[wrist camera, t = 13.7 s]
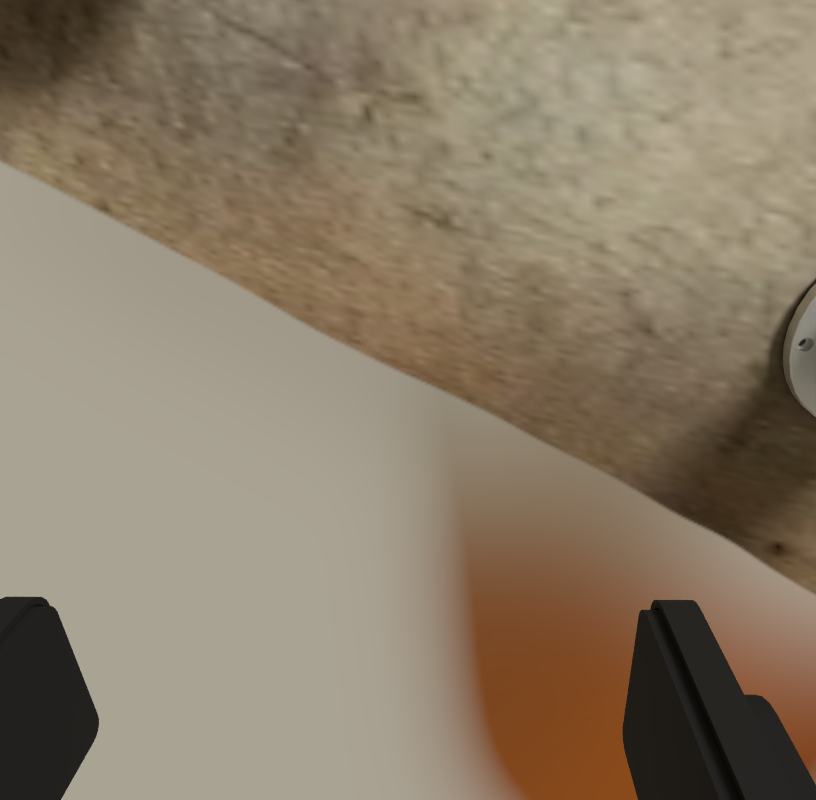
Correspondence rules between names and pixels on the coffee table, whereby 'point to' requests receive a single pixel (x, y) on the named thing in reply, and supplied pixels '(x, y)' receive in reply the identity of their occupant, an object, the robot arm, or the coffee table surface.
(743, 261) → the coffee table surface
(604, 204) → the coffee table surface
